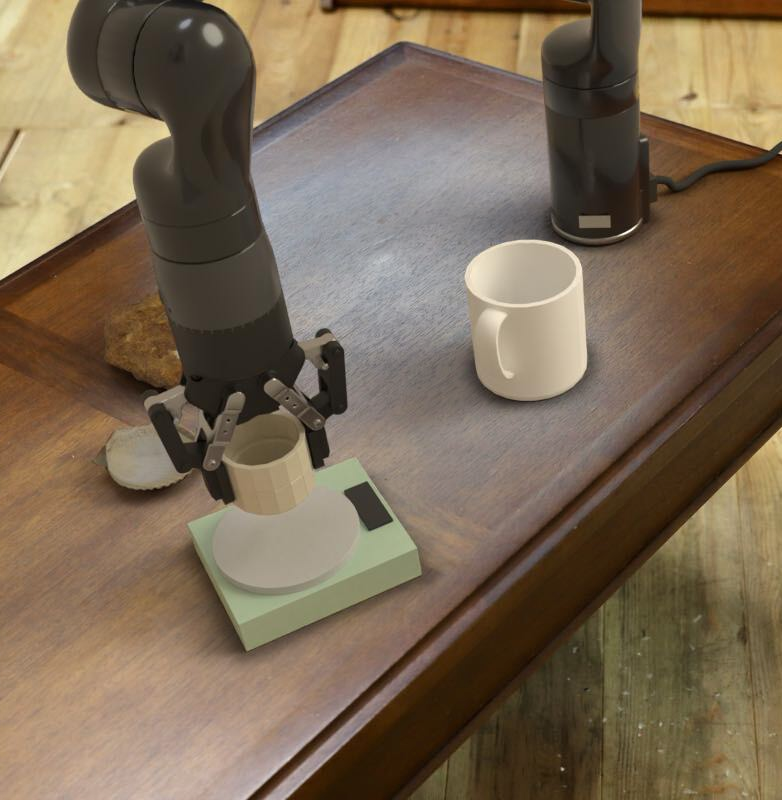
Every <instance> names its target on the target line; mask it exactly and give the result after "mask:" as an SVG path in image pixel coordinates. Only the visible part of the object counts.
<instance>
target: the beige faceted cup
mask: <svg viewBox="0 0 782 800" xmlns="http://www.w3.org/2000/svg"><path fill="white" fill-rule="evenodd" d="M221 461H222V463H223V464H224V466H225V470H226V473H227V476H228V480H229V483H230V487H231V490H232V494H233V497H234V502H232V503H233V505H235V506H237V507H238V508H240V509H241V510H243V511H245V512H247V513H252V514H256V515H262V516H269V515H277V514H281V513H284V512H287V511H289V510H291V509H293V508H295V507H296V506H298V505H299V504H300V503H301V502H303V501H304V500H305V499H306V498H307V497H308V496H309V495H310V493H311V491H312V490H313V488H314V486H315V476H316V474H315V472H316V470H315V469H314V465H313V461H312V457H311V452H310V448H309V444H308V439H307V435H306V431H305V428H304V426H303V425H302V423H301V422H300V420H299V419H298V418H296V417H295V416H294V415H293V414H291V413H290V412H286V411H281V410H278V411H275V412H272V413H270V414H264V415H258V416H256V417H254V418H253V419H251V420H250V421H248V422H246V423H243V424H240V425H238V426H237V425H236V426H235V429H234V432H233V436H232V439H231V442H230V444H227V445H226V447H225V450H224V453H223V456H222V460H221Z"/></svg>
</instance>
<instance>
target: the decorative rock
mask: <svg viewBox="0 0 782 800" xmlns="http://www.w3.org/2000/svg"><path fill="white" fill-rule="evenodd" d="M103 324H104V326H103V329H104V330H103V331H104V332H103V336H104V340H105V347H104V352H105V353H104V358H103V361H104V362H105V363H107V364H110V365H112V366H113V367H116V368H118V369H121V370H123V371H127V372H129V373H131V375H133V377H134V378H135V379H136V380H137V381H140V382H145V383H147V384H149V385H151V386H153V387H155V388H161V389H162V388H163V389H165V390H166V391H168V390H170V389H172V388H174V387H176V386H178V385H179V383H180V378H181V375H182V365H181V361H180V358H179V355H178V351H177V348H176V345H175V341H174V338H173V335H172V331H171V328H170V325H169V321H168V318H167V315H166V311H165V308H164V305H163V304H162V302H161V301H160V298H159V294H158V292H154V293H152V294H149V293H147V294H146V295H145V296H144V297H142V298H141V299H140V301H139V302H133V303H132V302H131V303H126V304H123V305H119V306H116V307H114V309H113V310H112V311H110V313H109V315H106V316H105V318H104V321H103Z"/></svg>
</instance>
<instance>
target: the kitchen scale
mask: <svg viewBox="0 0 782 800" xmlns="http://www.w3.org/2000/svg"><path fill="white" fill-rule="evenodd" d="M315 474H316V476H315V486H314V488H313V490H312V491H311V493H310V495H309V496H308V497H307V498H306V499H305V500H304V501H303V502H301V503H300V504H299V505H298V506H296V507H295V508H293V509H291V510H289V511H287V512H284V513H281V514H277V515H269V516H262V515H256V514H252V513H247V512H245V511H243V510H241V509H240V508H238V507H237V506H235V505H234V504H232V505H230V506H226V507H225V508H222V509H220V510H217V511H215V512H211V513H210V514H207V515H205V516H202V517H199V518H197V519H193V520H192V521H189V522H187V523H186V524H187V529H188V531H189V534H190V537H191V540H192V543H193V547H194V549H195V552H196V554H197V556H198V557H199V559H200V562H201V564H202V566H203V567H204V570H205V571H206V573H207V576H208V577H209V579H210V582H211V584H212V585H213V587H214V589H215V591H216V593H217V596H218V597H219V600H220V601H221V603H222V605H223V607H224V609H225V611H226V613H227V615H228V617H229V619H230V621H231V623H232V626H233V627H234V629H235V632H236V633H237V635H238V638H239V639H240V641H241V643H242V646H243V647H244V649H245V651H246V652H249V651H251V650H253V649H257V648H259V647H261V646H263V645H265V644H268V643H269V642H272V641H274V640H277V639H279V638H281V637H283V636H286V635H288V634H290V633H293V632H295V631H297V630H300V629H302V628H304V627H306V626H308V625H311V624H313V623H315V622H317V621H320V620H323V619H325V618H326V617H327V618H328V617H329V616H331V615H334V614H336V613H338V612H340V611H343V610H345V609H347V608H350V607H352V606H354V605H356V604H359V603H361V602H363V601H365V600H367V599H370V598H372V597H375V596H377V595H379V594H381V593H384V592H386V591H389V590H391V589H393V588H395V587H397V586H400V585H402V584H404V583H407V582H408V581H411V580H413V579H416V578H418V577H420V576H422V574H423V573H422V567H421V561H420V556H419V551H418V547H417V545H416V543H415V542H414V541H413V539H412V538H411V536H410V535H409V533H408V532H407V530H406V529H405V528H404V526H403V524H402V523H401V522H400V520H399V519H398V517H397V516H396V514H395V512H394V511H393V510H392V508H391V507H390V505H389V504H388V502H387V501H386V500H385V498H384V497H383V495H382V493H381V491H379V489H378V488H377V486H376V485H375V484H374V482H373V481H372V479H371V478H370V476H369V474H368V472H366V470H365V469H364V467H363V466H362V464H361V463H360V461H359V460H358V458H357V457H356V456H353V457H351V458H349V459H345V460H343V461H340V462H338V463H335V464H333V465H330V466H328V467H325V468H323V469H320V470H319V471H315Z"/></svg>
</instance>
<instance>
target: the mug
mask: <svg viewBox="0 0 782 800" xmlns="http://www.w3.org/2000/svg"><path fill="white" fill-rule="evenodd" d="M464 284H465V293H466V299H467V300H466V301H467V307H468V309H467V310H468V316H469V324H470V332H471V339H472V349H473V356H474V363H475V370H476V374H477V378H478V379H479V381H480V383H481V384H482V385H483V386H484V387H485V388H486V389H488V390H489V391H491V392H492V394H495V395H497V396H500V397H503V398H504V399H508V400H513V401H519V402H536V401H537V402H538V401H542V400H549V399H551V398H554V397H557V396H559V395H562V394H564V393H566V392H567V391H569V390H571V389H572V388H573V387H574V386H576V384H578V382H579V381H580V380H581V379H582V378H583V376H584V374H585V372H586V370H587V366H588V348H587V333H586V332H587V331H586V314H585V313H586V311H585V296H584V279H583V267H582V264H581V261H580V258H578V257H577V255H576V254H575V253H574V252H573V251H572V250H570V249H569V248H567V247H565V246H563V245H561V244H558V243H555V242H551V241H547V240H541V239H517V240H511V241H505V242H502V243H498V244H497V245H493V246H491V247H489V248H486V249H485V250H483V251H481V252H480V253H479V254H477V255H476V256H474V258H472V259H471V261H470V262H469V264H468V265H467V267H466V269H465V274H464Z"/></svg>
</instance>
